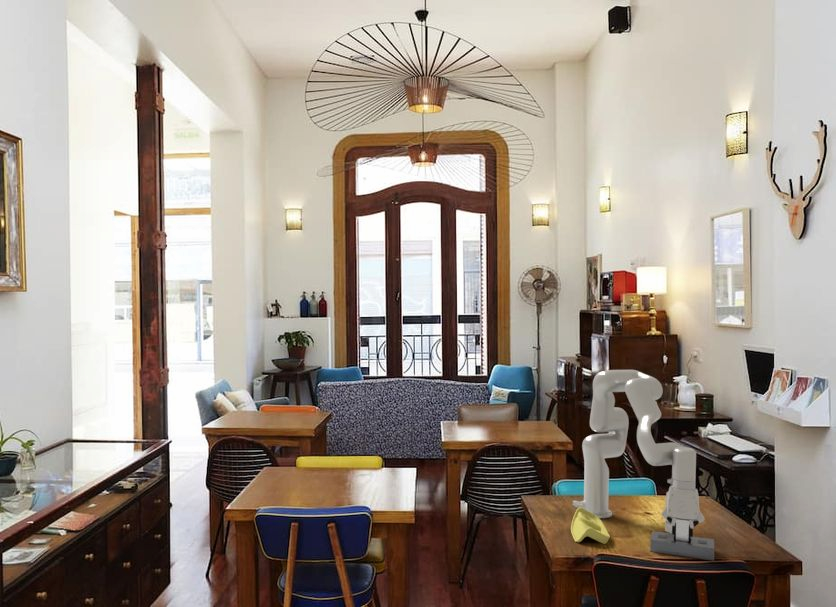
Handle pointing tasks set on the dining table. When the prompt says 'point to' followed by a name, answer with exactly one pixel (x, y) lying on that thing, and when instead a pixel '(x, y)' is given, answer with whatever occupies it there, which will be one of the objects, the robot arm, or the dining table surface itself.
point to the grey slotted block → (682, 546)
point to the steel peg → (682, 530)
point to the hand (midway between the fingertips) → (682, 537)
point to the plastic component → (588, 527)
